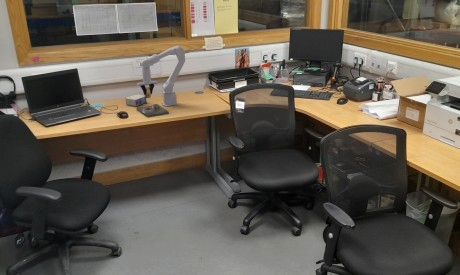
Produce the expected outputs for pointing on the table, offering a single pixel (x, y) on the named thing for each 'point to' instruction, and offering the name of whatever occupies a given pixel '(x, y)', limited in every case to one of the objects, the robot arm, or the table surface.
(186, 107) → the table surface
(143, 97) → the ink cartridge box
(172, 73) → the robot arm
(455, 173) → the table surface
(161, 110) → the fitting board
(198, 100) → the table surface
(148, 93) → the brass cylinder
